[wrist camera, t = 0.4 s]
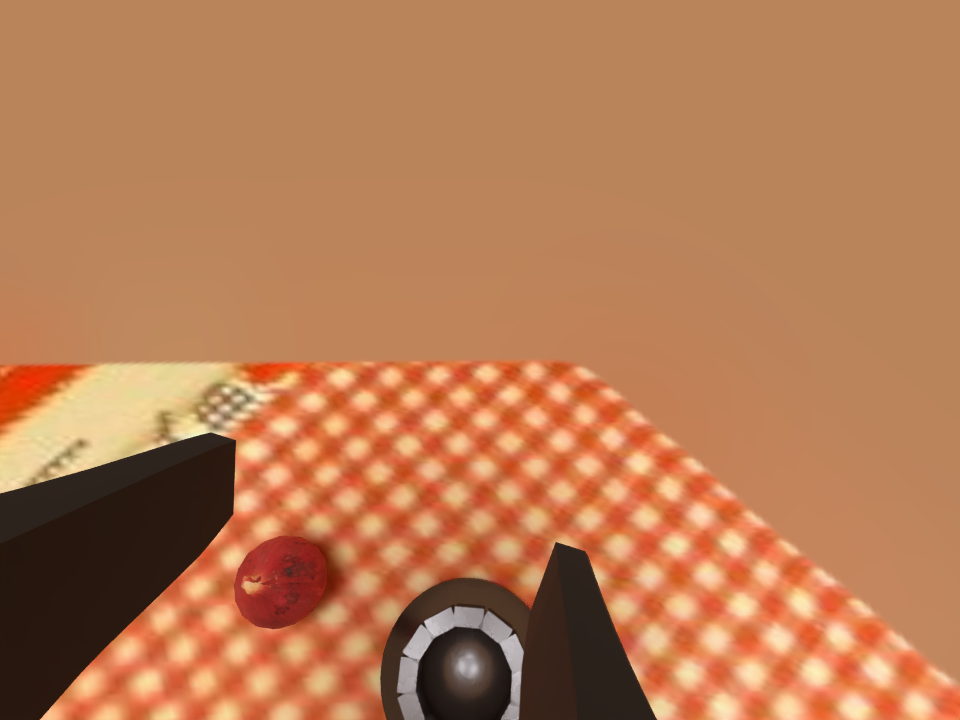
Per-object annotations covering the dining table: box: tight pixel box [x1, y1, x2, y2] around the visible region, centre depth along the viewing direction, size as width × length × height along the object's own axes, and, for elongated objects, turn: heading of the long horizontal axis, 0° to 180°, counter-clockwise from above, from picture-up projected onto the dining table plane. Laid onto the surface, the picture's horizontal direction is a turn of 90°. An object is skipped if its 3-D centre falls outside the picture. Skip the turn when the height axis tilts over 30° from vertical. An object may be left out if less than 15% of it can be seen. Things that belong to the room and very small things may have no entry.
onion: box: [234, 536, 328, 629], centre depth 32 cm, size 6×6×8 cm
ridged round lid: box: [380, 578, 531, 720], centre depth 32 cm, size 12×12×3 cm
